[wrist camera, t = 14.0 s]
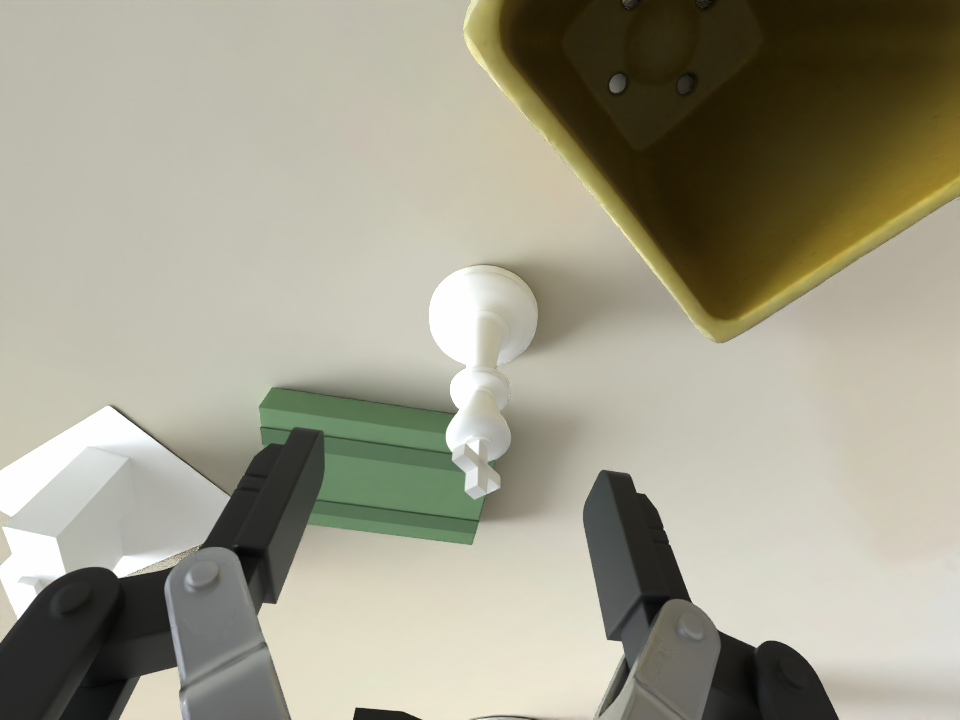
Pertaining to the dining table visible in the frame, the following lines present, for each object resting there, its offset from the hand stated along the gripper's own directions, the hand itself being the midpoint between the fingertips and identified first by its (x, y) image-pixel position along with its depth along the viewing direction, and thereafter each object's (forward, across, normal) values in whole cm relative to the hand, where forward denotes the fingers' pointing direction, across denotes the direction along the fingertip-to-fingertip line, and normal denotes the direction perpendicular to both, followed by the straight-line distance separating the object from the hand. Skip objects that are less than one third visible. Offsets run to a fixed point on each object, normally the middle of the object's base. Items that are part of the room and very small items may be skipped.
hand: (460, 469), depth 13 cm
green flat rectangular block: (+9, +3, +10) cm, 14 cm away
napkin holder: (+9, +20, +18) cm, 29 cm away
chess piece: (+9, -1, 0) cm, 9 cm away
